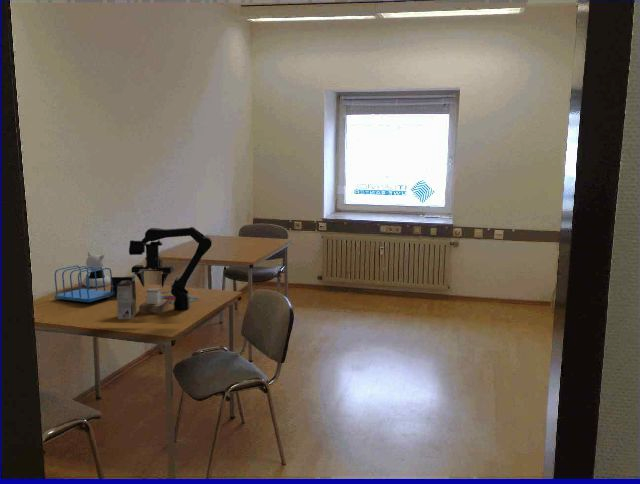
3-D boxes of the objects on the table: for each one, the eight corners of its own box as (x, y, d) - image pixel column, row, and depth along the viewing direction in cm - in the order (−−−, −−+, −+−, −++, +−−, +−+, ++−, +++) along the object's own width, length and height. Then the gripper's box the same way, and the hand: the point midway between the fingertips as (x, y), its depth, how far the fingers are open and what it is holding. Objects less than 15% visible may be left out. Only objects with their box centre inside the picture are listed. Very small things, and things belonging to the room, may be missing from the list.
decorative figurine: (115, 283, 327) (114, 249, 324) (102, 288, 313) (101, 253, 310) (91, 282, 329) (90, 248, 326) (77, 287, 315) (75, 252, 312)
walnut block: (168, 306, 277) (168, 299, 276) (160, 313, 264) (160, 306, 263) (148, 305, 277) (148, 299, 276) (139, 313, 264) (139, 305, 264)
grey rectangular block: (109, 297, 291) (110, 277, 293) (110, 297, 295) (111, 277, 296) (131, 297, 294) (132, 276, 295) (132, 297, 297) (132, 277, 298)
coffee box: (122, 314, 262) (121, 280, 260) (137, 313, 263) (135, 280, 261) (117, 319, 253) (115, 284, 251) (131, 319, 254) (130, 284, 252)
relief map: (200, 300, 291) (200, 296, 291) (177, 306, 279) (177, 302, 279) (169, 293, 306) (169, 289, 306) (145, 298, 294) (145, 295, 294)
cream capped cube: (161, 301, 272) (160, 287, 272) (157, 304, 267) (157, 290, 266) (150, 301, 273) (149, 287, 272) (146, 303, 267) (146, 290, 266)
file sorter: (54, 299, 290) (51, 269, 288) (82, 292, 305) (79, 264, 303) (88, 302, 279) (86, 272, 277) (115, 295, 294) (113, 266, 292)
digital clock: (129, 288, 314) (129, 272, 312) (141, 290, 311) (140, 273, 309) (112, 294, 301) (111, 277, 300) (123, 295, 298) (122, 278, 297)
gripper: (176, 252, 274) (177, 283, 277) (138, 251, 275) (139, 282, 277) (169, 256, 263) (170, 288, 265) (130, 255, 264) (131, 287, 266)
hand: (153, 286), depth 269 cm, fingers open, 9 cm apart
